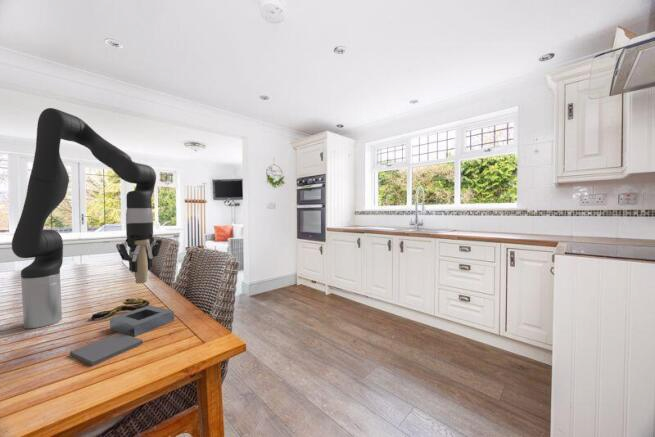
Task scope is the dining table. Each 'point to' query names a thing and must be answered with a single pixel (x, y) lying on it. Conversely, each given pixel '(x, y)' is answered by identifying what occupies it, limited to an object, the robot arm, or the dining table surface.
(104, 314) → the toy snake
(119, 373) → the dining table surface
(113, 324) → the holder
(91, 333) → the dining table surface
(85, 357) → the mat
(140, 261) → the handle
